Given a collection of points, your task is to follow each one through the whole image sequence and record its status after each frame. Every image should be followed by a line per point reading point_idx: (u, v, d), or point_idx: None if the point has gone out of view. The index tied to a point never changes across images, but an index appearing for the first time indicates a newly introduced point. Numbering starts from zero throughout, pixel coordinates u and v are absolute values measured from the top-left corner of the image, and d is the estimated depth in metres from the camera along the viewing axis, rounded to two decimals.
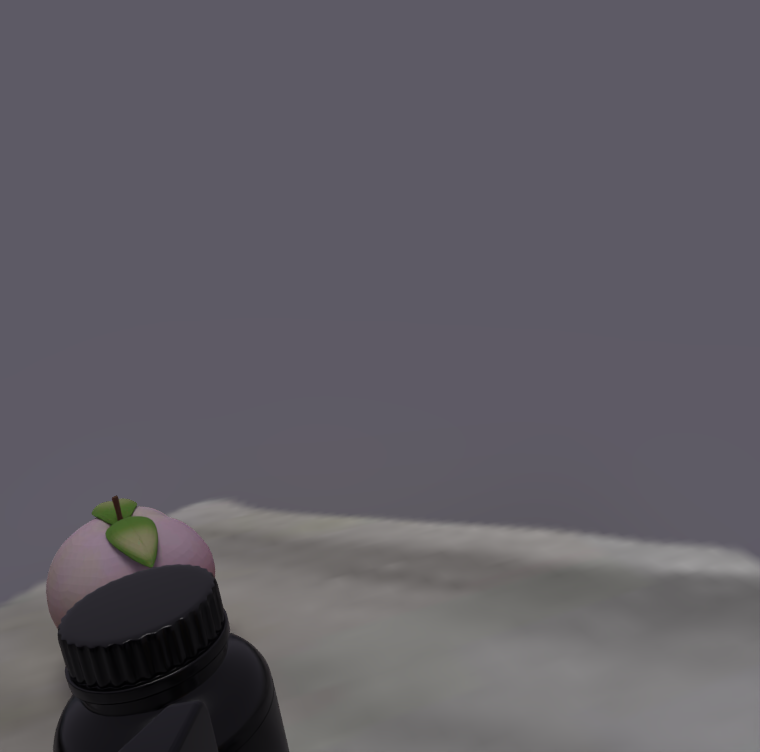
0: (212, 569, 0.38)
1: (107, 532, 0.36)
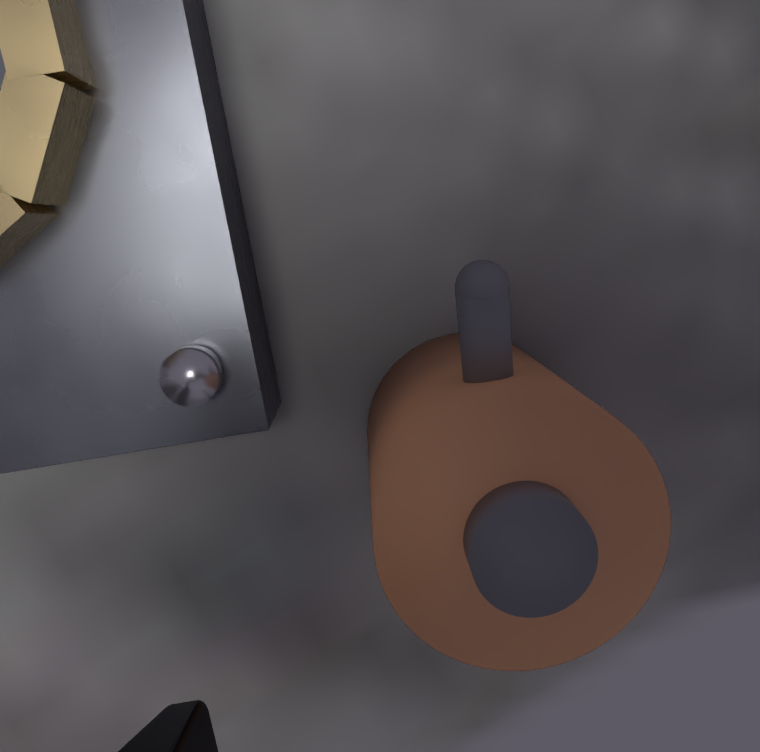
0: None
1: None
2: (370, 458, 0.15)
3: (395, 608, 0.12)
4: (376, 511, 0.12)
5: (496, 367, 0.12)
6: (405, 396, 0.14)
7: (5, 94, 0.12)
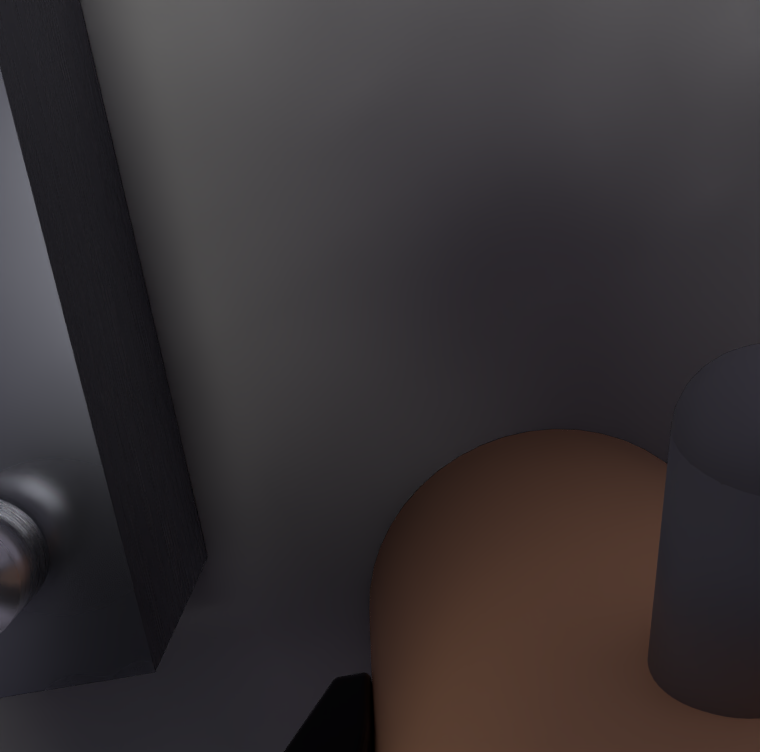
0: None
1: None
2: None
3: None
4: None
5: None
6: (464, 642, 0.06)
7: None
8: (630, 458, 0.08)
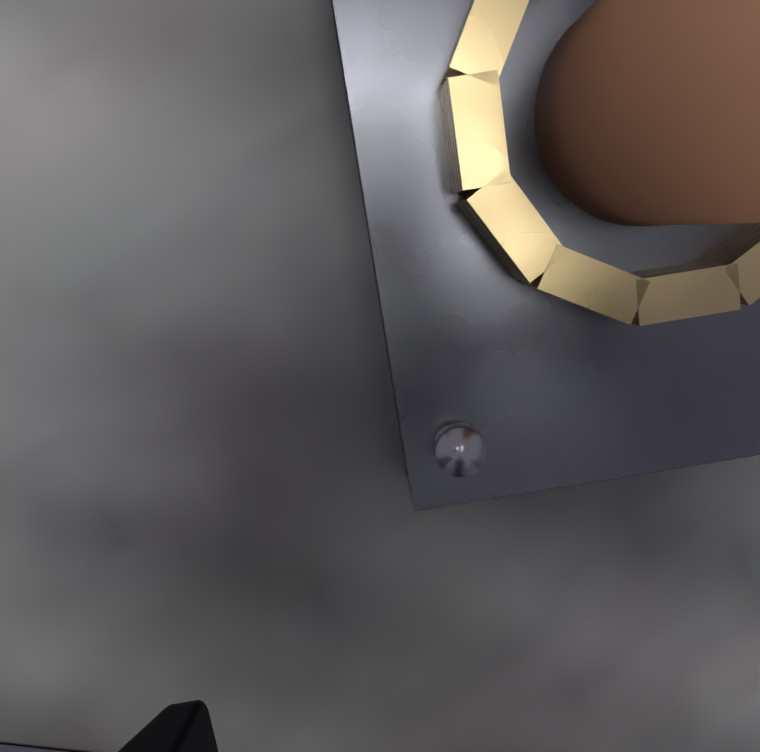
0: None
1: None
2: (582, 60, 0.12)
3: (680, 125, 0.09)
4: None
5: None
6: None
7: None
8: None
